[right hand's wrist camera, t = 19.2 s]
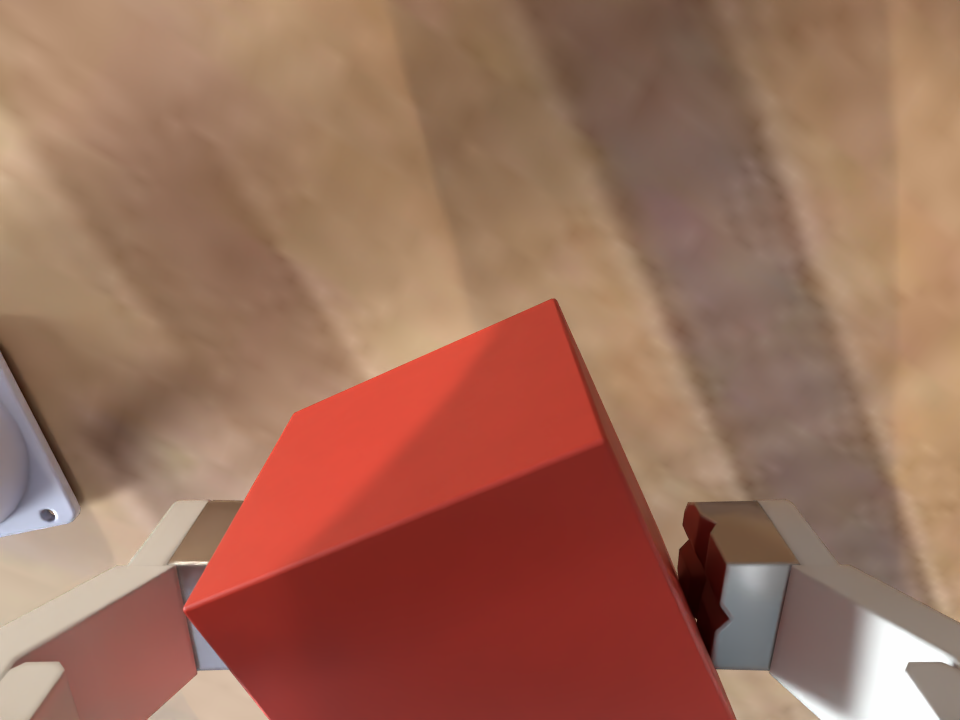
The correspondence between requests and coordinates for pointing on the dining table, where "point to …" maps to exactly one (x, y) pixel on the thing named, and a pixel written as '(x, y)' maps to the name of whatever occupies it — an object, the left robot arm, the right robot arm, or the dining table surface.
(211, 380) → the dining table surface
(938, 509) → the dining table surface
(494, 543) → the brick
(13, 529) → the left robot arm
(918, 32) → the dining table surface
